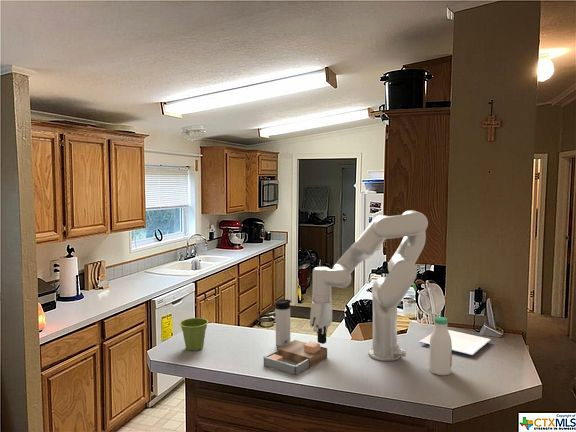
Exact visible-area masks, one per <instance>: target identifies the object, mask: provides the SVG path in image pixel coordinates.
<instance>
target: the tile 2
mask: <svg viewBox="0 0 576 432" xmlns="http://www.w3.org/2000/svg"><path fill="white" fill-rule="evenodd" d="M306 343H307V344H305V345H304V351H306V352H309V353H313V354H314V353H316V352H318V351H319V350H320V347H321V343H318V342H314V341H309V342H306Z"/></svg>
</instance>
